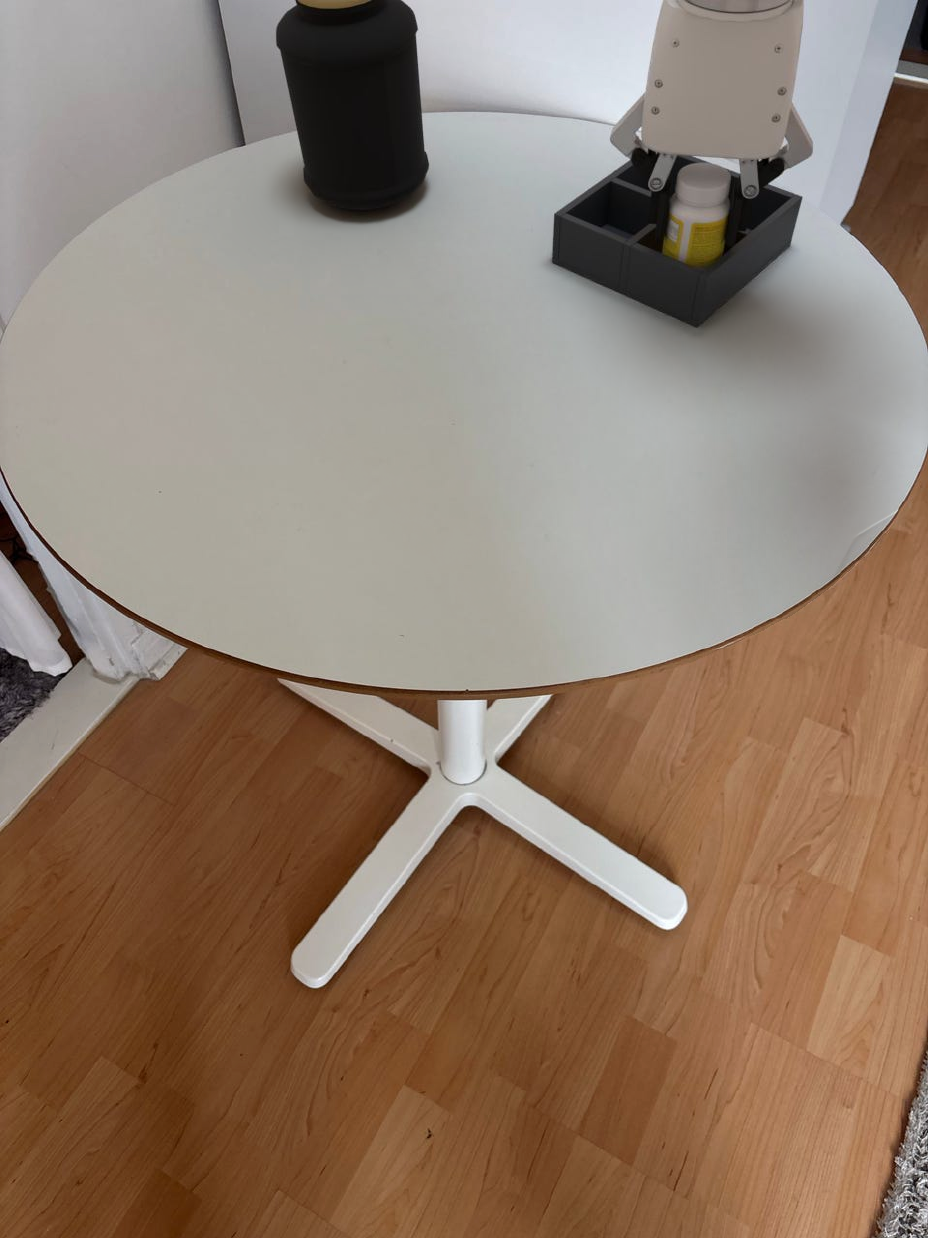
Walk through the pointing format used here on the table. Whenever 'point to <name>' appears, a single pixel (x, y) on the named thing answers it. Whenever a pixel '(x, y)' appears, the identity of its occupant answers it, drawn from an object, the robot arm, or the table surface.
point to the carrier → (633, 261)
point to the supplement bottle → (698, 215)
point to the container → (355, 99)
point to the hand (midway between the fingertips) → (695, 231)
